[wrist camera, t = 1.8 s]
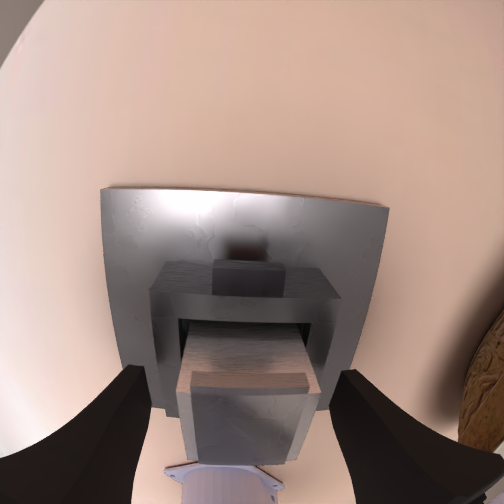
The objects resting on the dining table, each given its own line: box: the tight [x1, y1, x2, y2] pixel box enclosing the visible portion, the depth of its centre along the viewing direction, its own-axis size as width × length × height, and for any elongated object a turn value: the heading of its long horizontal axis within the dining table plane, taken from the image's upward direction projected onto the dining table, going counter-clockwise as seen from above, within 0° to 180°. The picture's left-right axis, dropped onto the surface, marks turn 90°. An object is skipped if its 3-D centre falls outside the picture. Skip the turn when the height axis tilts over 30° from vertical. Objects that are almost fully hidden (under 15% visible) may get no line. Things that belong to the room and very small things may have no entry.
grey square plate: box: [100, 187, 389, 418], centre depth 12 cm, size 13×13×4 cm
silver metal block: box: [176, 319, 321, 466], centre depth 10 cm, size 5×4×6 cm
